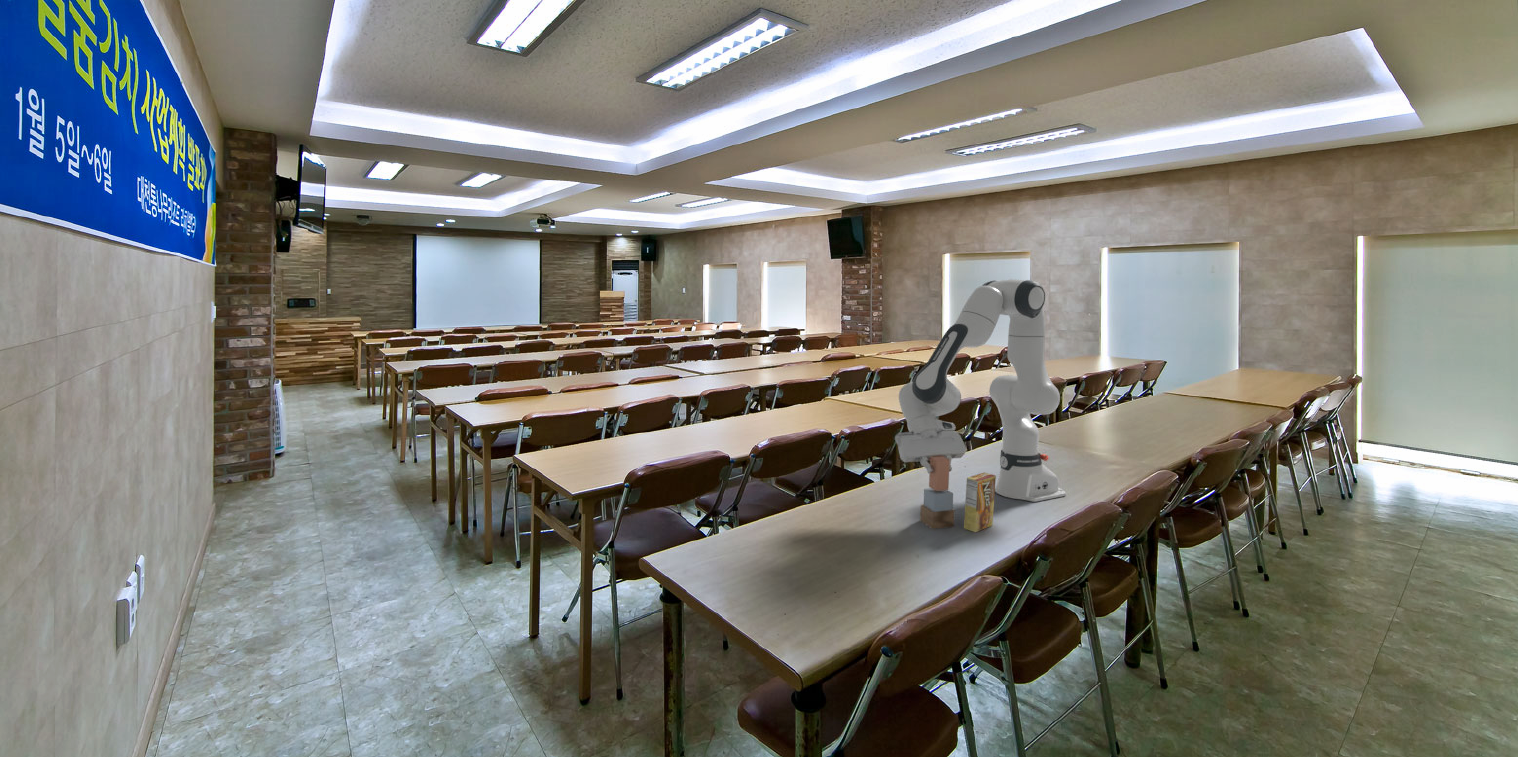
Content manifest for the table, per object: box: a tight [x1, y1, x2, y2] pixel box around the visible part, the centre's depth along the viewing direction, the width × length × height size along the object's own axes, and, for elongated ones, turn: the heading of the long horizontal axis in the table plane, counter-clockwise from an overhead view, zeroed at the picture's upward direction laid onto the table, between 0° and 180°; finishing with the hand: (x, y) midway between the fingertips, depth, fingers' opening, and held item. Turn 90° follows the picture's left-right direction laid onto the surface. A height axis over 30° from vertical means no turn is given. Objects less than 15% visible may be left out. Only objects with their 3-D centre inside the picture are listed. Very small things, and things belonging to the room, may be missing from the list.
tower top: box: [923, 487, 954, 512], centre depth 198 cm, size 6×6×5 cm
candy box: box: [963, 472, 997, 533], centre depth 195 cm, size 9×4×15 cm, turn 129°
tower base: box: [919, 504, 955, 530], centre depth 199 cm, size 7×7×5 cm
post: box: [928, 456, 951, 491], centre depth 197 cm, size 4×4×9 cm
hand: (940, 471), depth 196 cm, fingers open, 4 cm apart
